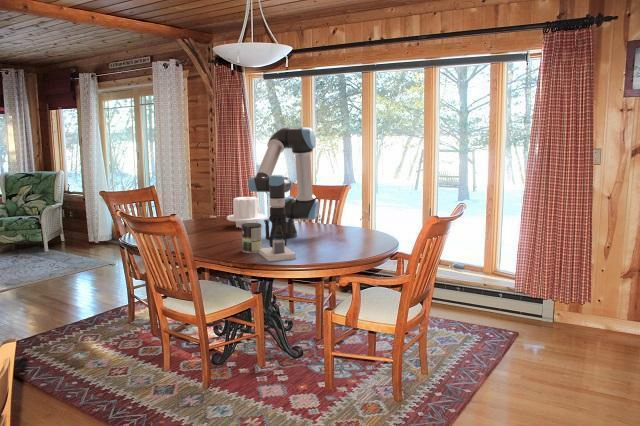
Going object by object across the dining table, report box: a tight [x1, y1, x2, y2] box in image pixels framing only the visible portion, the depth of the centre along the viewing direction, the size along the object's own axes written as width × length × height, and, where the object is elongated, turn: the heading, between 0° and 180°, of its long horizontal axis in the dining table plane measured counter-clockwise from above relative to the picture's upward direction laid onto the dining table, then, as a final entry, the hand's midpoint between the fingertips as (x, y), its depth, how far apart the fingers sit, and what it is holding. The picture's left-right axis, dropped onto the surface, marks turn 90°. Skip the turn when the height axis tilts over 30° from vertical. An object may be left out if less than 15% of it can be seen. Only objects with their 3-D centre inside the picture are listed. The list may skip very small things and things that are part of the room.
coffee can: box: [241, 222, 263, 254], centre depth 273 cm, size 10×10×14 cm
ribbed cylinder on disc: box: [226, 196, 266, 229], centre depth 341 cm, size 25×25×19 cm
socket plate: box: [258, 245, 297, 262], centre depth 262 cm, size 18×14×3 cm
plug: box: [274, 239, 284, 254], centre depth 260 cm, size 4×4×8 cm
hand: (278, 252), depth 260 cm, fingers closed on plug, 4 cm apart
